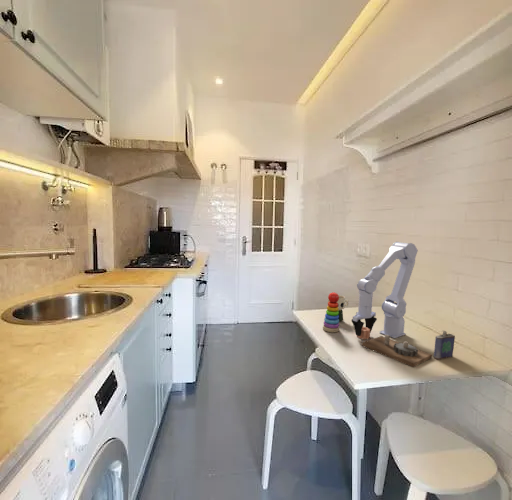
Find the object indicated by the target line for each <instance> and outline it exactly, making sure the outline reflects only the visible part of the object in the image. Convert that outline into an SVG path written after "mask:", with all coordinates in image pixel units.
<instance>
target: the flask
mask: <svg viewBox="0 0 512 500" xmlns="http://www.w3.org/2000/svg"><path fill="white" fill-rule="evenodd" d="M455 339H456V336H455V335H454V334H452V333H448V332H447V331H446V330H443V331H442V334H439V335H436V336H435V339H434V341H435V342H434V350H433V358H434V359H435V360H444V359H451V358H453V357H454V355H453V354H454V349H455V348H454V347H455V341H456V340H455Z"/></svg>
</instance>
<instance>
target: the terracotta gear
mask: <svg viewBox="0 0 512 500" xmlns="http://www.w3.org/2000/svg"><path fill="white" fill-rule="evenodd" d="M356 337H358V339H362V340H370V338H371V333H370V329H369V328H367V327H366V326H363V327H362V331H361V336H358V335H356Z"/></svg>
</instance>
